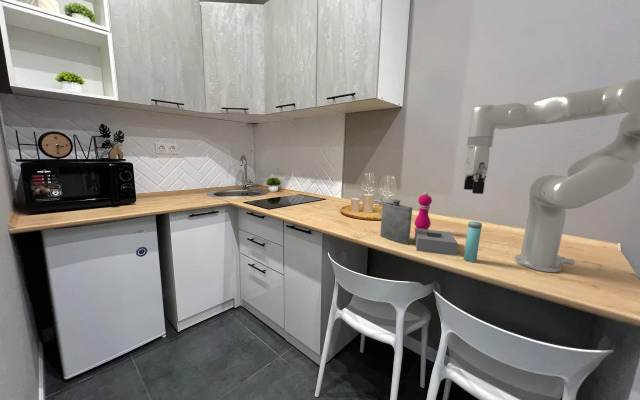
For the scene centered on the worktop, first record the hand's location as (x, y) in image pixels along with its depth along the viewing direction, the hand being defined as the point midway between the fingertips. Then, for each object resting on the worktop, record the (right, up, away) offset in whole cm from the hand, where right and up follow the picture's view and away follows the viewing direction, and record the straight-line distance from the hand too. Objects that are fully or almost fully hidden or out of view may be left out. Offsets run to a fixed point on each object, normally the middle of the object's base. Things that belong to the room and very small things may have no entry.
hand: (472, 191), depth 91 cm
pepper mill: (-6, -19, +32) cm, 38 cm away
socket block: (-8, -22, +13) cm, 27 cm away
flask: (-23, -21, +20) cm, 37 cm away
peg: (-1, -25, +1) cm, 25 cm away
